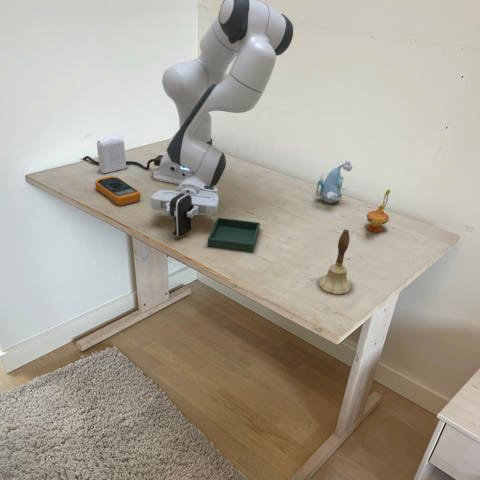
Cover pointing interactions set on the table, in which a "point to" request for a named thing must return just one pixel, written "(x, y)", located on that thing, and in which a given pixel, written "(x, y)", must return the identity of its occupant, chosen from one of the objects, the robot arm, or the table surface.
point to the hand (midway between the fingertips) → (179, 214)
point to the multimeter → (117, 190)
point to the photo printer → (111, 154)
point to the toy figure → (332, 184)
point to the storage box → (234, 234)
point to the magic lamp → (378, 217)
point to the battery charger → (181, 213)
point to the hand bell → (337, 270)
